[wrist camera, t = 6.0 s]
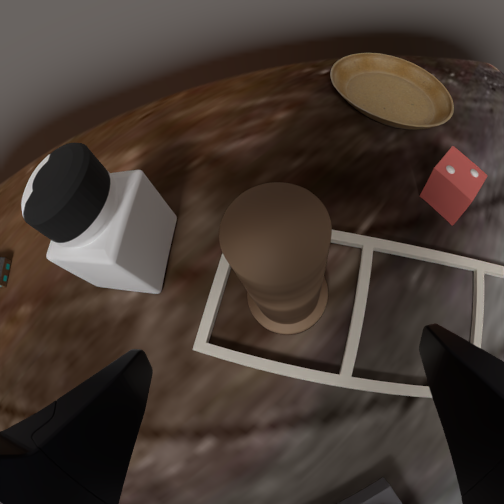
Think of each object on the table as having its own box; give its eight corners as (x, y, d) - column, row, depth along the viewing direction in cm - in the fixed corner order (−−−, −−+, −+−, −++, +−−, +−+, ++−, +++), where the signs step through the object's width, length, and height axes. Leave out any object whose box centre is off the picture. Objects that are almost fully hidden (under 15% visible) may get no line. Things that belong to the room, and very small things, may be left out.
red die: (469, 200, 21) (487, 175, 17) (452, 225, 20) (472, 200, 17) (438, 173, 22) (453, 145, 19) (419, 195, 22) (434, 167, 18)
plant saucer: (431, 78, 29) (434, 64, 26) (461, 154, 23) (470, 138, 21) (328, 63, 32) (328, 47, 29) (330, 133, 26) (331, 114, 24)
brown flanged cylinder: (341, 307, 20) (376, 246, 10) (274, 349, 19) (247, 329, 10) (299, 246, 22) (293, 152, 13) (236, 285, 22) (184, 213, 12)
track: (549, 281, 16) (552, 279, 16) (542, 396, 12) (546, 395, 12) (237, 217, 24) (235, 213, 23) (195, 350, 20) (192, 349, 20)
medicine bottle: (179, 216, 25) (108, 119, 14) (162, 295, 22) (59, 226, 11) (116, 218, 26) (39, 141, 16) (96, 287, 24) (-3, 229, 13)
